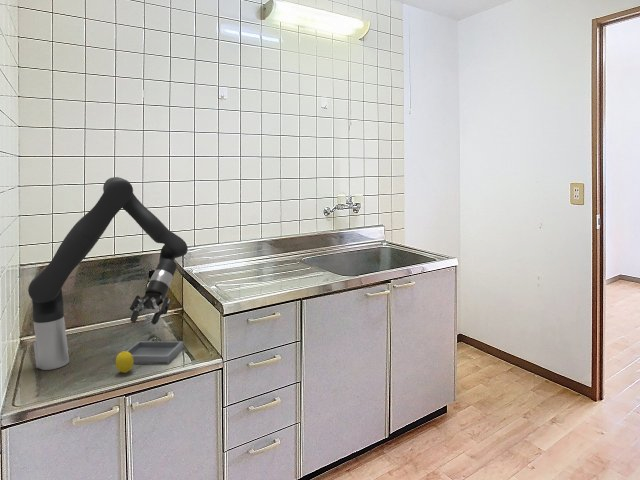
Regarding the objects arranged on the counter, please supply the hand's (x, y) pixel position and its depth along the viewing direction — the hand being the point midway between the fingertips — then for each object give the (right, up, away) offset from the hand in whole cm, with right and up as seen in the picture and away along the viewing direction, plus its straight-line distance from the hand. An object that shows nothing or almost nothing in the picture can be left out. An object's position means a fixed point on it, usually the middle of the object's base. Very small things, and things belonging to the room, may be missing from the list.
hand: (142, 322), depth 153 cm
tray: (+2, -13, +5) cm, 15 cm away
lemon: (-2, -16, -8) cm, 18 cm away
